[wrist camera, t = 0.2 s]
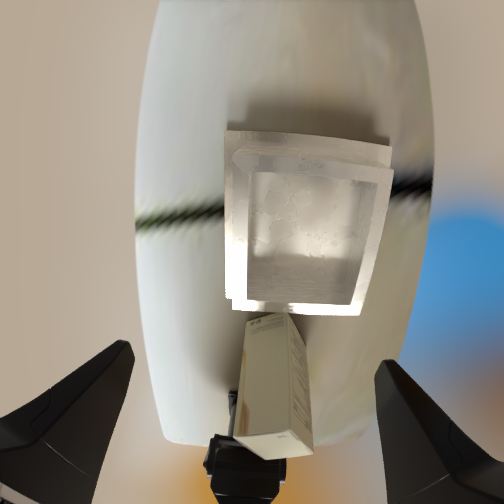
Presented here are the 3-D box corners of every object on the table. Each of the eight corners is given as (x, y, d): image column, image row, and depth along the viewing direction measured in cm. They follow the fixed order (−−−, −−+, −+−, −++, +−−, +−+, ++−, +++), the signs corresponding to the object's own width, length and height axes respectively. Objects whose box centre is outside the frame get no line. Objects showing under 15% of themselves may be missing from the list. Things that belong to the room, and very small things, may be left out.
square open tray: (357, 300, 24) (366, 326, 21) (227, 293, 25) (220, 320, 22) (389, 146, 18) (410, 153, 15) (226, 130, 18) (216, 133, 15)
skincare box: (244, 320, 26) (227, 435, 16) (287, 307, 25) (289, 428, 15) (270, 360, 29) (264, 462, 18) (308, 350, 28) (314, 456, 17)
